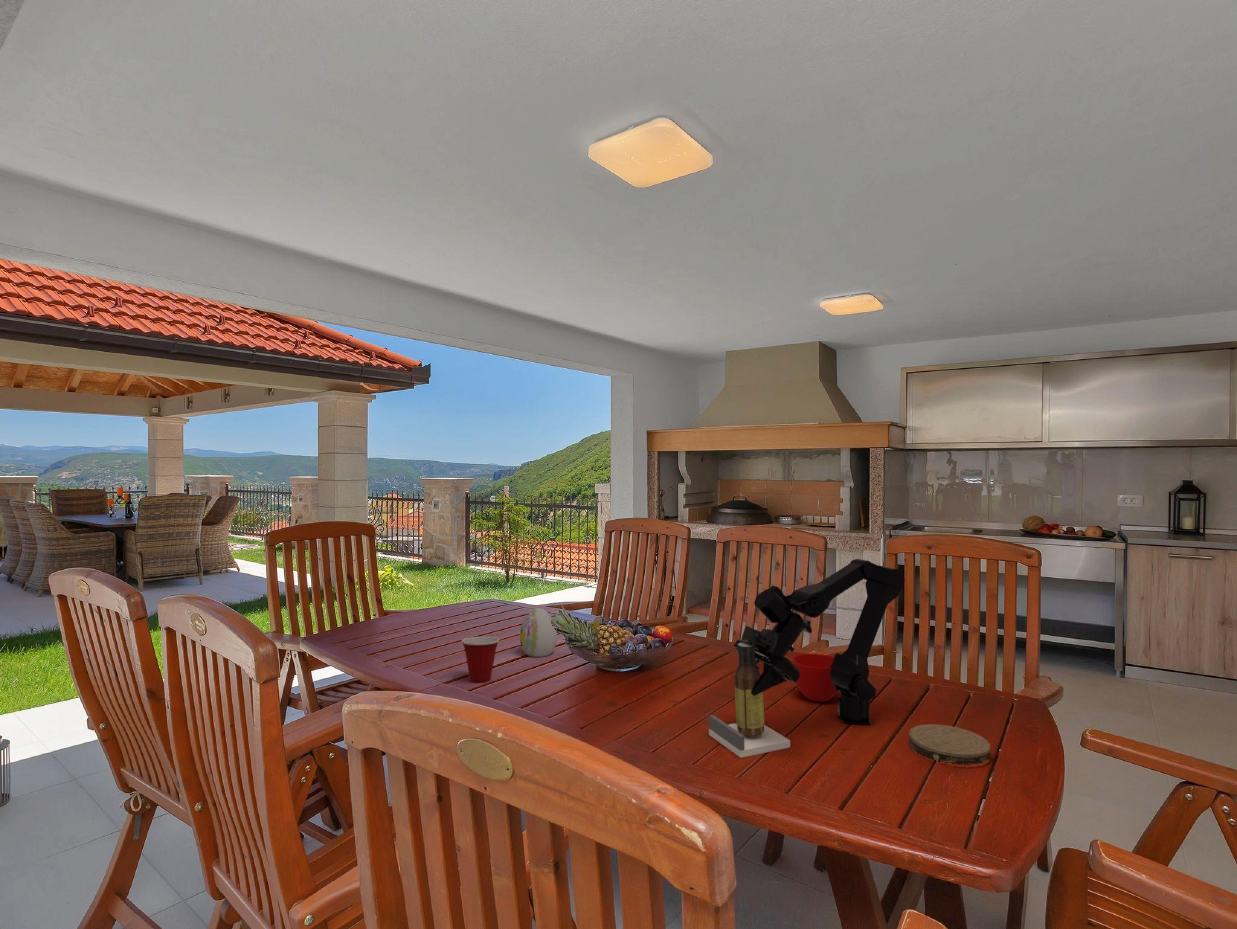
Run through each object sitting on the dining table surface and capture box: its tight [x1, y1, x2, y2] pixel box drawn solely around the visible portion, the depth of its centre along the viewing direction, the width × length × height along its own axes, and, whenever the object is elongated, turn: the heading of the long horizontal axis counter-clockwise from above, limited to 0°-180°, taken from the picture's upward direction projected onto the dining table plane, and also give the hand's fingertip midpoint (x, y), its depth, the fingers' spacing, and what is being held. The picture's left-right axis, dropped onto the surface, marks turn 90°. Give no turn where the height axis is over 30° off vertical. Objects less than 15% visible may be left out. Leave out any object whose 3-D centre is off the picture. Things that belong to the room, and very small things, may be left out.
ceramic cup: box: [792, 653, 838, 703], centre depth 175 cm, size 13×17×10 cm
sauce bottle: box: [734, 642, 765, 736], centre depth 148 cm, size 7×6×20 cm
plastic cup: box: [461, 636, 500, 684], centre depth 190 cm, size 11×11×12 cm
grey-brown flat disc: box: [908, 723, 991, 765], centre depth 142 cm, size 16×16×3 cm
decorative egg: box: [519, 607, 558, 658], centre depth 216 cm, size 12×12×15 cm
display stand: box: [708, 714, 791, 758], centre depth 148 cm, size 13×13×4 cm
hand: (743, 689), depth 147 cm, fingers closed on sauce bottle, 6 cm apart
